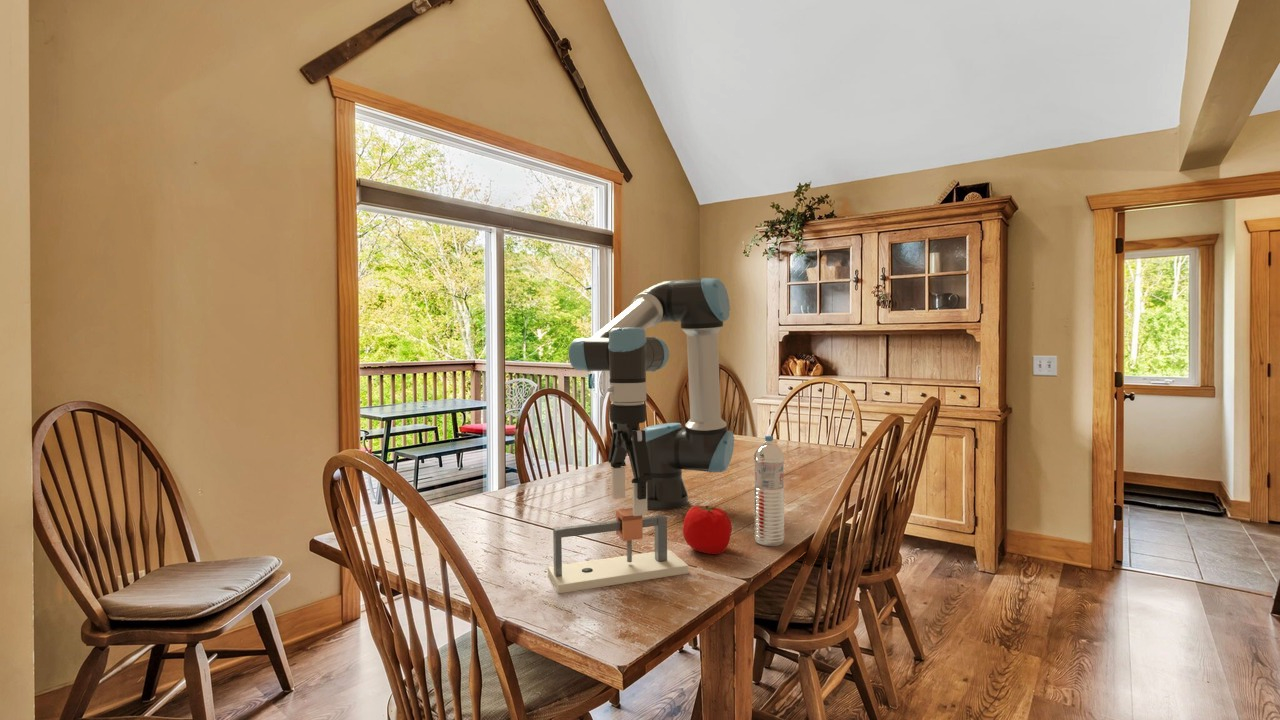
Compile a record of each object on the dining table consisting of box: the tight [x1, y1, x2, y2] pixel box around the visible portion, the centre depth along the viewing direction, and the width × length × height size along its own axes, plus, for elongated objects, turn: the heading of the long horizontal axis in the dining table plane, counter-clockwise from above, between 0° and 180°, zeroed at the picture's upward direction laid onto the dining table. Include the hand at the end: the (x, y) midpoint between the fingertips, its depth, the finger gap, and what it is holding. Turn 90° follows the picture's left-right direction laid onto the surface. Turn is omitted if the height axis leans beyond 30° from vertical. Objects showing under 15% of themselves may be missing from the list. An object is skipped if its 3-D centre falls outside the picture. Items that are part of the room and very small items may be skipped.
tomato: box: [682, 505, 733, 555], centre depth 136 cm, size 11×13×10 cm
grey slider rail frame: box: [552, 514, 668, 577], centre depth 122 cm, size 24×2×9 cm, turn 110°
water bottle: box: [753, 435, 785, 547], centre depth 141 cm, size 7×7×25 cm
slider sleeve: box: [615, 507, 643, 562], centre depth 124 cm, size 4×5×10 cm
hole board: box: [547, 549, 689, 594], centre depth 123 cm, size 27×10×2 cm, turn 110°
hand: (628, 506), depth 123 cm, fingers open, 13 cm apart
